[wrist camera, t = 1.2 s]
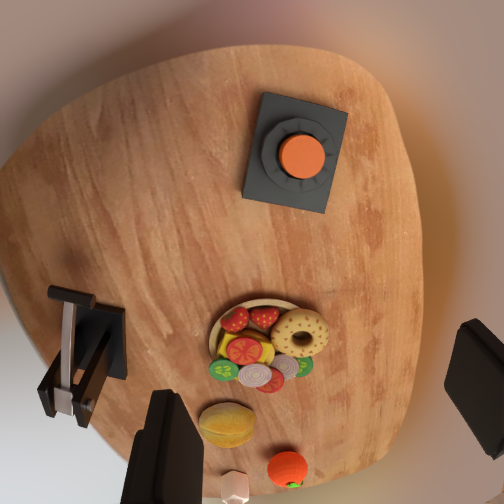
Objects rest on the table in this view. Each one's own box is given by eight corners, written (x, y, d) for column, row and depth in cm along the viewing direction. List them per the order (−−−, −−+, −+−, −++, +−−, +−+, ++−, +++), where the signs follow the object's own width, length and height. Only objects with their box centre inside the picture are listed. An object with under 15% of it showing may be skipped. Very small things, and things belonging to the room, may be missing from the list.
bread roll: (257, 400, 42) (259, 421, 38) (251, 434, 45) (252, 454, 42) (199, 397, 41) (197, 418, 37) (199, 432, 44) (198, 452, 41)
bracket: (66, 296, 34) (17, 361, 22) (125, 309, 35) (89, 384, 23) (75, 361, 38) (42, 428, 26) (127, 374, 39) (104, 448, 27)
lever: (56, 284, 28) (45, 285, 26) (98, 293, 29) (89, 295, 26) (52, 398, 27) (43, 406, 25) (92, 411, 28) (85, 420, 26)
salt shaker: (232, 468, 50) (234, 510, 41) (248, 474, 51) (251, 514, 42) (219, 475, 51) (220, 515, 42) (235, 480, 52) (237, 519, 43)
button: (283, 130, 26) (286, 130, 24) (323, 140, 26) (329, 141, 24) (274, 170, 27) (277, 173, 25) (314, 179, 27) (319, 182, 26)
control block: (261, 93, 28) (265, 88, 24) (340, 113, 29) (355, 112, 25) (241, 193, 31) (242, 202, 27) (318, 208, 32) (329, 219, 28)
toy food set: (335, 308, 37) (343, 323, 34) (294, 385, 41) (298, 402, 38) (225, 281, 35) (225, 296, 32) (198, 368, 39) (196, 385, 36)
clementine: (314, 453, 49) (322, 484, 42) (284, 467, 50) (289, 497, 44) (288, 439, 46) (295, 473, 40) (257, 455, 48) (260, 487, 41)
